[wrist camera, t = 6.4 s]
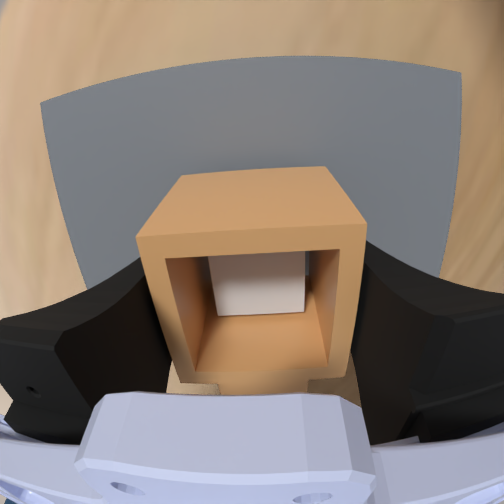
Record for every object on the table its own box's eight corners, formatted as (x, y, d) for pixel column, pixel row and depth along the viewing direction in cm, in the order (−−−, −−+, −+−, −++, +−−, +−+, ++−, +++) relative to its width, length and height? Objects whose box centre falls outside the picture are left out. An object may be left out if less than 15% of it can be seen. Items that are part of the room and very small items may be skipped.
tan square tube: (181, 175, 11) (135, 237, 7) (325, 166, 11) (367, 223, 7) (213, 349, 16) (201, 434, 11) (317, 344, 15) (332, 430, 11)
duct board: (449, 72, 11) (513, 76, 7) (415, 324, 17) (443, 380, 13) (52, 100, 12) (-13, 114, 8) (118, 338, 18) (93, 394, 14)
